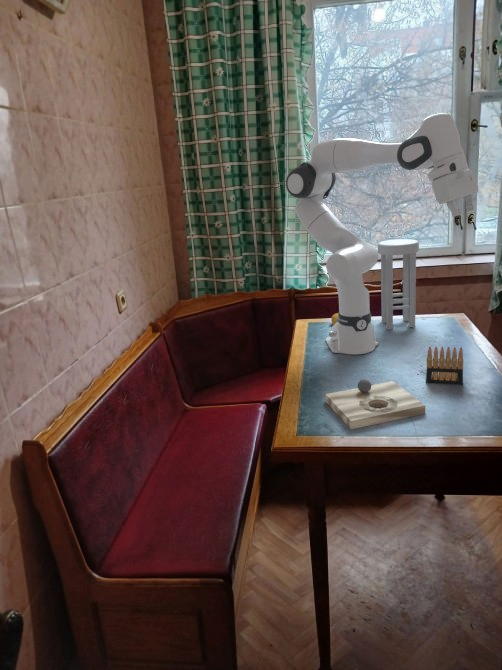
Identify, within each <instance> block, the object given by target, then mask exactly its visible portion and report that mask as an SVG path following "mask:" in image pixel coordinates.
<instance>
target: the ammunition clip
mask: <svg viewBox="0 0 502 670" xmlns="http://www.w3.org/2000/svg"><path fill="white" fill-rule="evenodd" d="M433 349H434V351H433V352H432V347H431V346H428V349H427V355H426V373H425V374H426V375H425V376H426V377H425V383H426V384H434V385H437V384H438V385H454V386H455V385H458V386H459V385H460V386H462V385H464V350H463V347H462V346H460V347H459V350H458V352H457V348H456V346H454V347H453V348H452V349H453V350H452V352H451V349H450V346H447V348H446V352H445V349H444V346H441V348H440V351H439V350H438V347H437V346H435V347H434V348H433ZM445 353H446V354H445ZM451 353H452V354H451ZM457 354H458V355H457ZM457 356H458V358H457Z"/></svg>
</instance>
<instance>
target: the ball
mask: <svg viewBox="0 0 502 670" xmlns="http://www.w3.org/2000/svg"><path fill="white" fill-rule="evenodd" d="M371 385H372V383H371V381H370V380H368V379H367V378H362V379H360V380H359V381H358V382H357V388H358V389H359V390H360V391H361V392H363V393H366V392H368V391H370V389H371Z"/></svg>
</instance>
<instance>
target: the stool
mask: <svg viewBox="0 0 502 670" xmlns="http://www.w3.org/2000/svg"><path fill="white" fill-rule="evenodd" d="M419 251H420V242H419V241H418V240H416V239H410V238H397V239H388V240H382V241H380V242H378V243H377V252H378V255H380V278H381V279H380V288H381V289H380V291H381V294H380V295H381V298H380V299H381V304H380V305H381V307H380V308H381V310H380V311H381V323H382V324H385V325H386V327H385V328H386V330H393V329H394V320H393V319H394V310H397V311H398V310H402V321H404V322H408V324H407V325H408V327H409V328H410V327H413V328H416V306H417V305H416V298H417V297H416V290H417V288H416V284H417V276H416V275H417V253H418V252H419ZM393 256H402V292H397V293H395V292H394V293H393V291H394V289H393V288H394V287H393V286H394V285H393V284H394V277H393V275H394V274H393V273H394V269H393V266H394V265H393V264H394V262H393V260H394V259H393V258H394V257H393ZM395 297H402V298H395ZM395 304H402V305H395ZM394 305H395V306H394Z"/></svg>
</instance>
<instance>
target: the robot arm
mask: <svg viewBox="0 0 502 670" xmlns="http://www.w3.org/2000/svg"><path fill="white" fill-rule="evenodd" d="M387 164H399V166H400V167H401V168H403V169H404V170H408V171H417V170H425V169H428V170H429V169H430V170H431V171H429V173H427V177H428V180H429V181H432V182H431V187H432V191H433V194H434V197H435V199H436V201H437V203H438V204H439V205H443V204H446V207H447V208H448V210H449V211H450V212H451V216H452V217H453V218H454V217H457V216H460V215H461V212H460V208H458V206H457V205H456V204H457V202H456V200H458V199H462V198H464V200H465V204H466V205H465V209H466V212H472V211H474V210H475V206H474V199H475V198H474V194H476V193H479V185H478V182H477V179H476V176H475V174H474V171H473V170H472V169H470V167H469V165H468V161H467V158H466V154H465V151H464V149H463V148H462V145H461V136H460V132H459V130H458V127H457V124H456V122H455V119H454V118H453V116H452V114H450V113H448V112H440V113H436V114H432V115H428V116H427V117H425V118H423V120H422V122H421V123H420V126H419V127H418V128H417V129H416V130H415V131H414V133H412V135H410V136H409V137H407V139H404V141H402V142H399V143H383V142H375V141H370V140H363V139H358V138H350V137H346V138H345V137H344V138H334V139H333V138H332V139H329V140H325V141H321V142H318V143H317V144H315V146H314V147H313V149H312V152H311V158H310V161H308V162H306V161H303V162H302V163H300V164H299V165H298V166H296V167H295V168H294V169H292V170H291V171H290V172H289V173H288V174H287V176H286V180H285V188H286V190H287V192H288V194H290V196H291V197H294V198H296V199H299V200H298V201H297V203H296V205H295V208H294V211H295V215H296V217H297V219H298V220H299V221H300V223H301V225H302V226H303V227H304V228H303V229H305V230H306V231H307V232H308V234H309V235H310V236H311V237H312V239H313V240H314V242H316V243H317V244H318V246H319V247H320V248H321V249H324V250H326V251H327V252H328V251H329V252H330V253H331V255H330V256H328V259H327V260H326V263H325V264H326V265H325V269H326V272H327V274H328V276H330V278H331V279H332V280H333V282H334V283H335V286H336V289H337V295H338V310H339V311H338V312H337V313H339V314H338V320H337V321H338V322H337V323H336V324H335V325H334V326H333V325H332V326H331V329H330V330H329V331H328V337H326V338H325V342H326V344H327V346H328V347H329V349H330V351H331V353H335V354H343V355H344V354H345V355H364V354H368V353H371V352H373V351H374V350H375V348H376V347H378V346H379V341H377V340H376V333H375V325H374V324H373V323H372V312H371V311H370V306H371V305H370V291H369V289H368V288H367V287H366V286H365V282H364V279H363V274H365V273H367V272H368V271H370V270H371V269H373V267H374V266H376V264H377V263H378V260H379V253H378V248H376V246H375V245H373V244H372V243H368V242H367V241H364V240H363V239H361V238H360V237H359V236H357V235H356V234H355V233H353V232H352V231H350V230H349V229H348V228H347V227H346V226H345V225H344V224H343V223H342V222H341V221H340V220H339V219H338V218H337V217H336V215H335V214H334V213H333V212H332V211H331V209H329V207H328V206H327V205H326V204H325V201H324V200H325V199H327V198H328V197H329V195H330V193H331V191H332V189H333V188H334V186H335V184H336V180H337V178H336V177H337V176H336V174H347V173H355V172H358V171H363V170H366V169H369V168H372V167H376V166H380V165H387Z"/></svg>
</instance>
